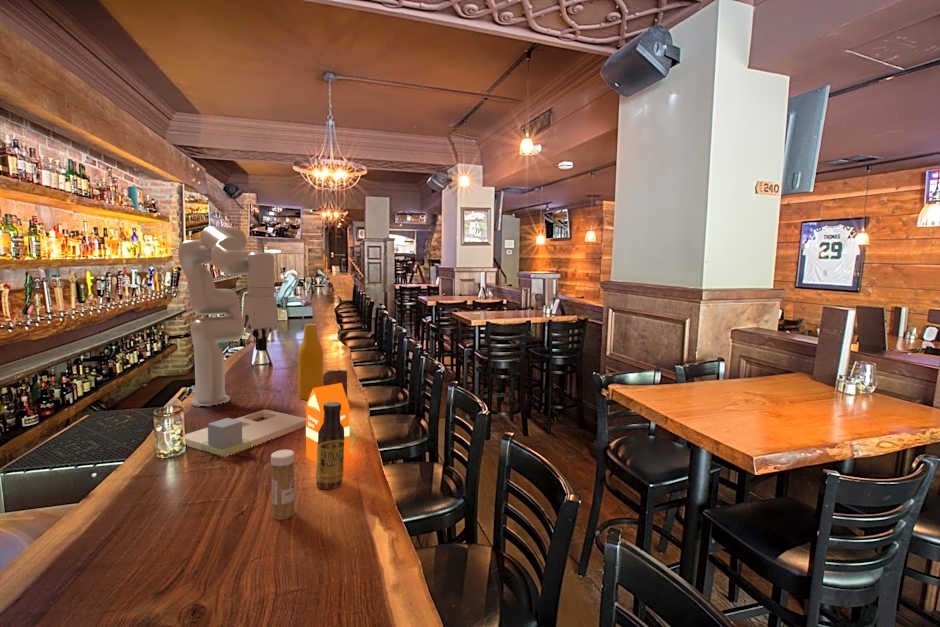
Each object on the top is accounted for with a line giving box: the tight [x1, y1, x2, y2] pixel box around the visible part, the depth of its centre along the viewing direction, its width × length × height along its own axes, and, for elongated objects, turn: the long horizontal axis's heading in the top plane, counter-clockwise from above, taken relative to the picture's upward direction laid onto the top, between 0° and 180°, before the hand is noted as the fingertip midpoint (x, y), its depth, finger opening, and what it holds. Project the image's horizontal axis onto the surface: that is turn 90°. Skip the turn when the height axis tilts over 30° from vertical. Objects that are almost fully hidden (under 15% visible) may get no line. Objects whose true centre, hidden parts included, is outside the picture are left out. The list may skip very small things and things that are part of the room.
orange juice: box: [305, 383, 351, 464], centre depth 126 cm, size 8×9×20 cm
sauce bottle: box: [315, 402, 345, 490], centre depth 110 cm, size 6×6×20 cm
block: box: [207, 417, 242, 449], centre depth 129 cm, size 6×6×6 cm
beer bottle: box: [297, 323, 324, 401], centre depth 181 cm, size 9×9×29 cm
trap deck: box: [184, 408, 306, 458], centre depth 142 cm, size 20×30×2 cm, turn 154°
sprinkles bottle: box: [270, 449, 296, 521], centre depth 96 cm, size 5×5×14 cm
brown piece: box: [323, 369, 348, 399], centre depth 143 cm, size 8×7×20 cm
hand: (261, 349), depth 146 cm, fingers closed
